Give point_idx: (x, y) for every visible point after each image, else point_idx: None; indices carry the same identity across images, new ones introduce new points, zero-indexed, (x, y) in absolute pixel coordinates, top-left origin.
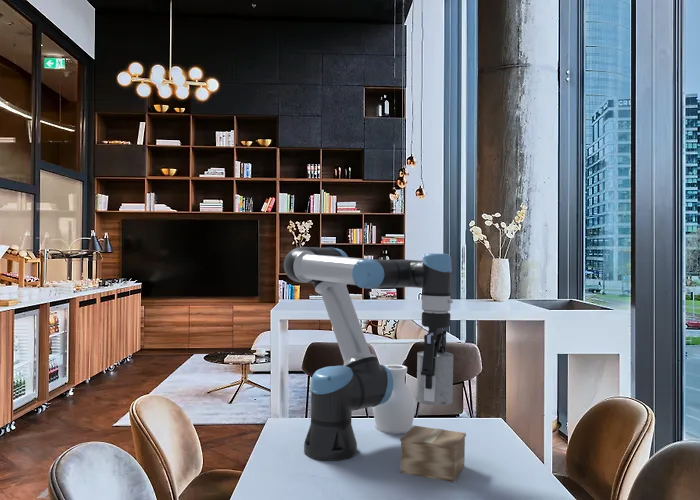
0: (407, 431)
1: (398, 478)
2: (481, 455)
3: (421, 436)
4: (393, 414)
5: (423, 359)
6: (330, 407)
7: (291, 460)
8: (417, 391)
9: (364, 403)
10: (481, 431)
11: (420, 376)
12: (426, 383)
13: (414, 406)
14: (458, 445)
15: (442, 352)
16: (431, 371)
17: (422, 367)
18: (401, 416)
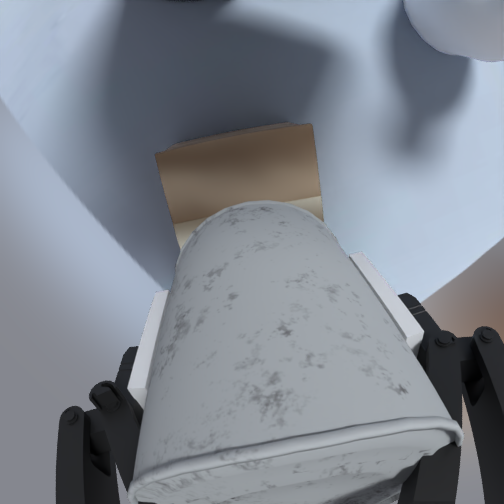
0: (436, 48)
1: (143, 158)
2: (381, 244)
3: (218, 195)
4: (432, 10)
5: (58, 487)
6: None
7: None
8: (196, 247)
9: None
10: (496, 196)
11: (161, 337)
12: (121, 372)
13: (489, 60)
14: None
15: (401, 489)
16: (96, 454)
17: (59, 440)
18: (442, 31)
